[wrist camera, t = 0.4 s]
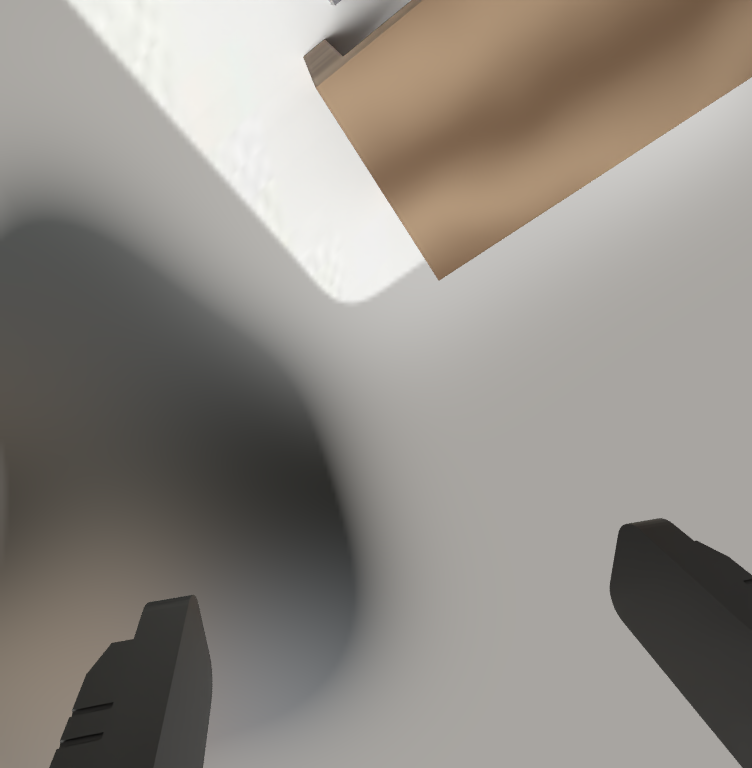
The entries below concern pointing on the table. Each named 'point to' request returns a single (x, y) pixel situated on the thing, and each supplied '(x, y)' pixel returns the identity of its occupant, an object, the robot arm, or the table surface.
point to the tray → (334, 2)
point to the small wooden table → (520, 102)
